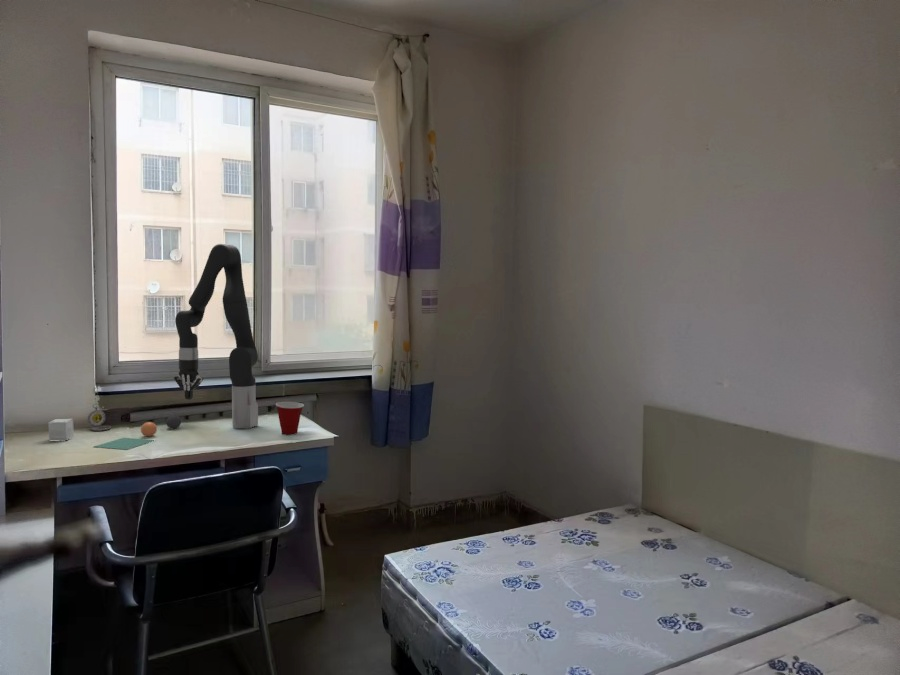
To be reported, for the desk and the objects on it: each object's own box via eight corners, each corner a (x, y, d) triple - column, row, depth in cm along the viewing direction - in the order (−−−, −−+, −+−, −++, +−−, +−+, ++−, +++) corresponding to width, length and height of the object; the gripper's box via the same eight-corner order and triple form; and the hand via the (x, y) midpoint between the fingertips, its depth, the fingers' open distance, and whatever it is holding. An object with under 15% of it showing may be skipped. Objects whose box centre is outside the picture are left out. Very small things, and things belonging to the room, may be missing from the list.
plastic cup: (299, 437, 231) (299, 406, 230) (271, 436, 231) (271, 405, 231) (307, 430, 242) (307, 401, 241) (281, 430, 242) (281, 400, 241)
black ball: (184, 427, 245) (183, 414, 245) (175, 430, 240) (174, 416, 239) (172, 426, 246) (172, 413, 246) (163, 429, 241) (162, 416, 241)
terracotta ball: (160, 435, 231) (159, 421, 231) (150, 438, 226) (149, 424, 226) (147, 434, 233) (147, 420, 232) (137, 437, 227) (137, 423, 227)
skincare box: (74, 437, 226) (73, 418, 226) (66, 441, 220) (65, 421, 220) (56, 438, 225) (55, 418, 225) (48, 442, 219) (47, 422, 219)
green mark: (155, 440, 223) (155, 440, 223) (127, 449, 209) (127, 449, 209) (123, 438, 226) (123, 437, 226) (93, 447, 213) (93, 446, 213)
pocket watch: (104, 431, 236) (103, 406, 236) (83, 431, 236) (82, 406, 236) (116, 427, 244) (115, 403, 244) (96, 427, 245) (95, 402, 244)
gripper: (208, 358, 253) (208, 398, 254) (180, 356, 256) (180, 396, 257) (196, 359, 246) (196, 401, 247) (168, 358, 249) (168, 399, 250)
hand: (188, 399), depth 252 cm, fingers closed
